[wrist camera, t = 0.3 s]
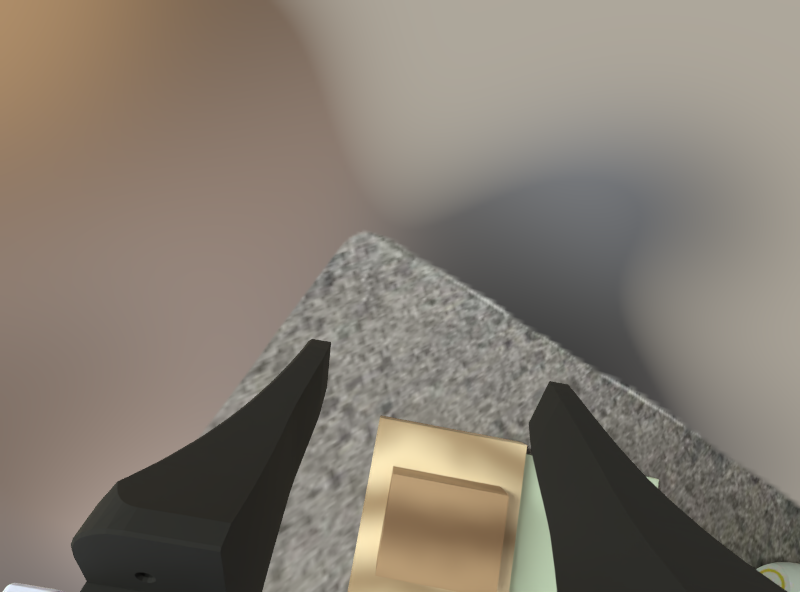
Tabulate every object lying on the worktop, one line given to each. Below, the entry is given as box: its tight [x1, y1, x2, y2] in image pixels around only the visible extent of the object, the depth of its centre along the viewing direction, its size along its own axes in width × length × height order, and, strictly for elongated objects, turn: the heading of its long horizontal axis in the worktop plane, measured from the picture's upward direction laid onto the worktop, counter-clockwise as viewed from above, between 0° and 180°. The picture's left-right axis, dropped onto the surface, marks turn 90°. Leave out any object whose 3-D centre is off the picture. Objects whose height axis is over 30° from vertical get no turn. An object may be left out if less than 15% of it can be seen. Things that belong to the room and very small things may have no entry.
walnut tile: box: [375, 466, 509, 592], centre depth 36 cm, size 8×10×3 cm
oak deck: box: [348, 416, 527, 592], centre depth 39 cm, size 16×14×2 cm
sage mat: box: [509, 454, 659, 592], centre depth 39 cm, size 14×13×1 cm
